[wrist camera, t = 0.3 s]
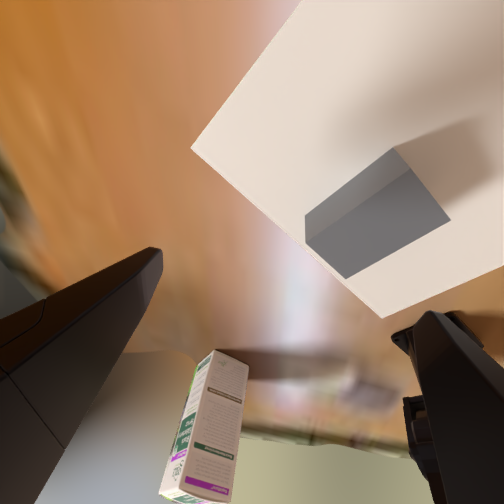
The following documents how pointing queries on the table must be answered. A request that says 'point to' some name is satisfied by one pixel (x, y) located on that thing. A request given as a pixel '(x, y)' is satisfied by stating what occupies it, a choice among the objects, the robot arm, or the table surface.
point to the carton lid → (376, 142)
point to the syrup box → (208, 434)
